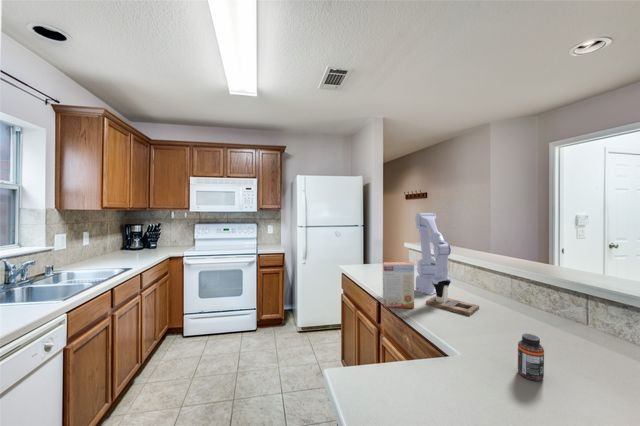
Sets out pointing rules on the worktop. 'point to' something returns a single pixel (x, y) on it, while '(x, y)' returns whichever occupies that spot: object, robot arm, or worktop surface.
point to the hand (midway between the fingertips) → (441, 295)
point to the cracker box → (398, 284)
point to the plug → (443, 296)
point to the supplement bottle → (531, 357)
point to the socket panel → (454, 306)
